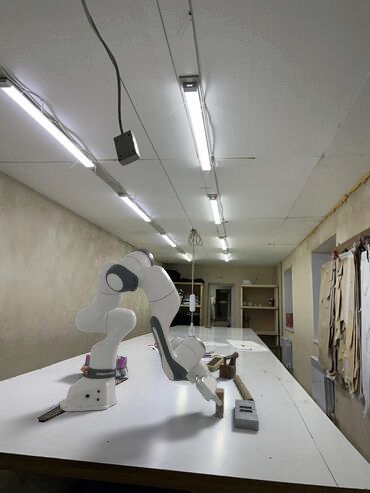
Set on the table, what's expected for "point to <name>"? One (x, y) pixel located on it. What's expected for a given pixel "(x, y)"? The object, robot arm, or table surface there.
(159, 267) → the robot arm
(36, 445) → the table surface
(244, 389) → the roll
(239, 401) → the grey slotted block
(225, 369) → the wooden tool caddy
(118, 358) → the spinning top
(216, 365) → the box
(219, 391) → the clip
